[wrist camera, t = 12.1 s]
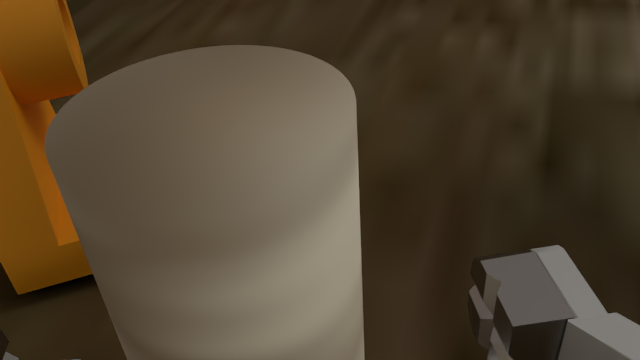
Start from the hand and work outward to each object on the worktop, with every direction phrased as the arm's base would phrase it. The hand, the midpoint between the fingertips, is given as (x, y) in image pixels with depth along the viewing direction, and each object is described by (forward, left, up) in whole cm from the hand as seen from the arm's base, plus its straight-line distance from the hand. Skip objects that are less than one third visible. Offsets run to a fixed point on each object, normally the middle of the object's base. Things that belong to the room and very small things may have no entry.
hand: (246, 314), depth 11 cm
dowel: (0, +1, -9) cm, 9 cm away
